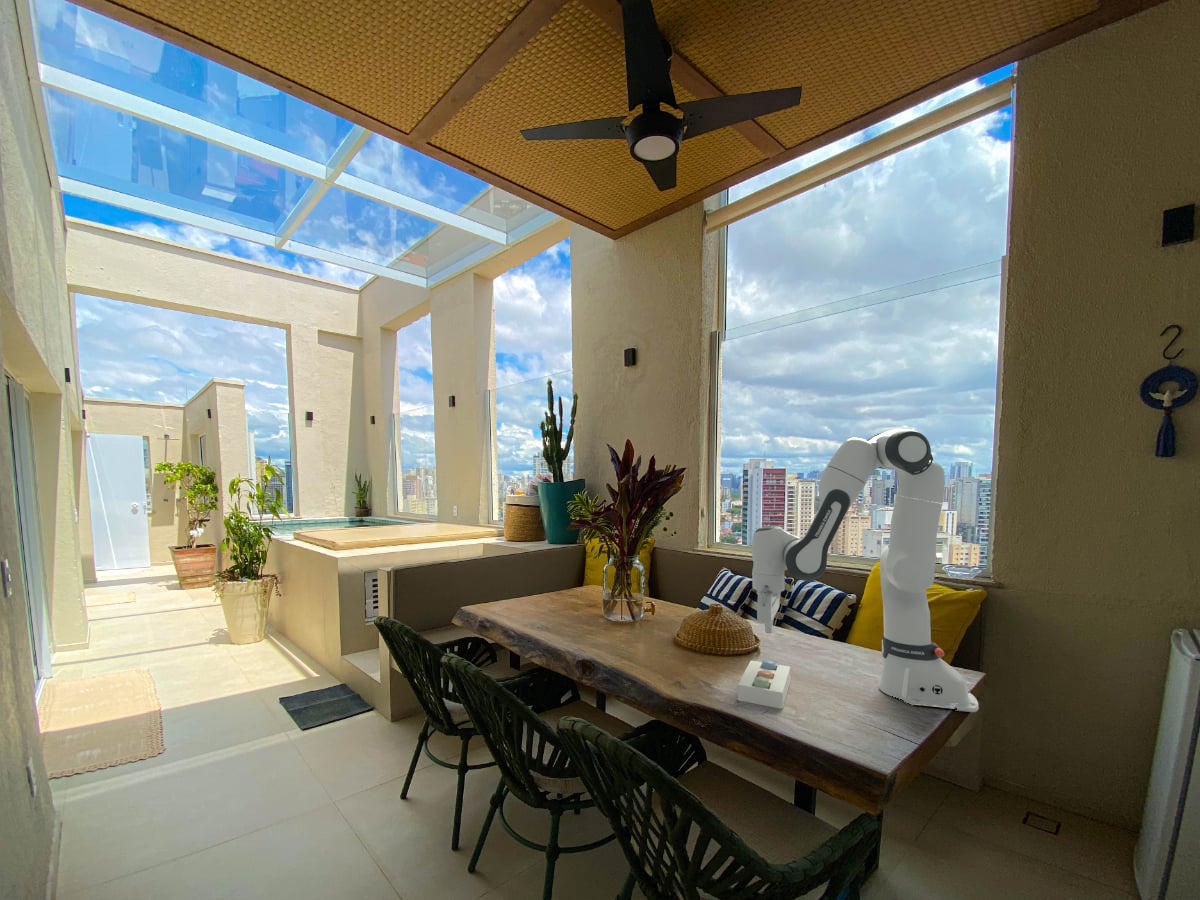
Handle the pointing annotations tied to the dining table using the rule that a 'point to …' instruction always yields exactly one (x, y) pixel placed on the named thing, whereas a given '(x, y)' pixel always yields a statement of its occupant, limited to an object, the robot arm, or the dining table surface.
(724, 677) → the dining table surface
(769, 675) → the terracotta button
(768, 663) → the blue button
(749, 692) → the button console
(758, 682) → the sage button
